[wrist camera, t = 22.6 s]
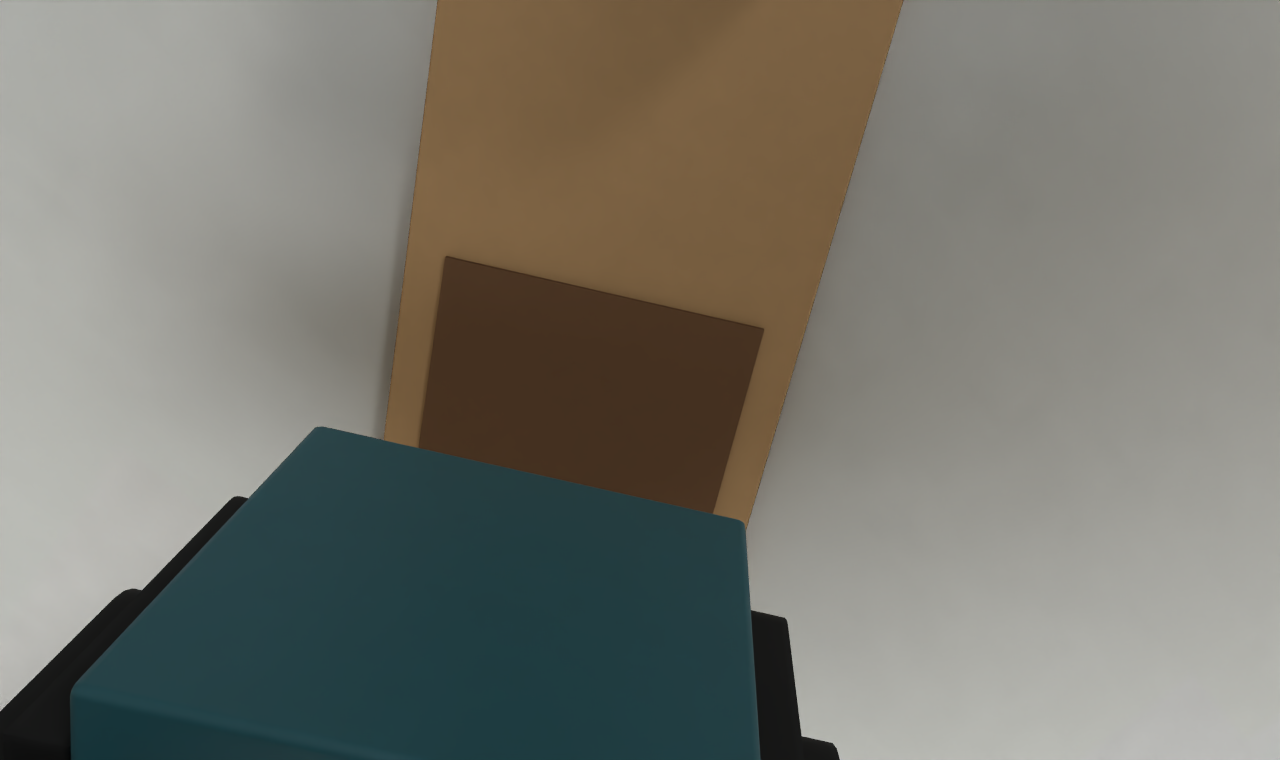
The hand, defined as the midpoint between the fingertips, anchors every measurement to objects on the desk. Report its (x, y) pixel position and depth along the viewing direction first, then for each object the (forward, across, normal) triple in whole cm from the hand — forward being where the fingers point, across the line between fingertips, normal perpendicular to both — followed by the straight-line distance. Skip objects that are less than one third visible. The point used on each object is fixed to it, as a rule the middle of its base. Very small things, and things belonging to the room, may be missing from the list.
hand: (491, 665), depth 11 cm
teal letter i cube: (0, 0, 0) cm, 0 cm away
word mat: (+7, 0, -6) cm, 9 cm away
